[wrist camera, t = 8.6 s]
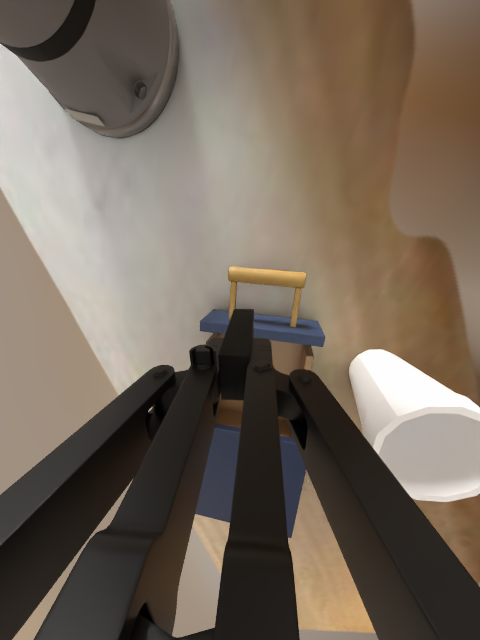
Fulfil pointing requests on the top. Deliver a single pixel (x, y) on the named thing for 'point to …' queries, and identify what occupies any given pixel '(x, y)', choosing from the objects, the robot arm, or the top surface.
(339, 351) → the top surface
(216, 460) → the cabinet
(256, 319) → the drawer
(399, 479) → the foam cup
